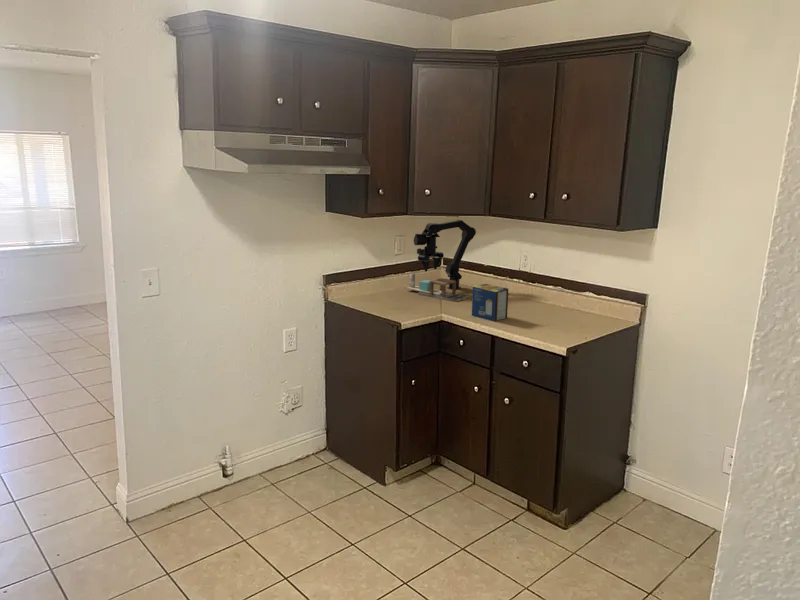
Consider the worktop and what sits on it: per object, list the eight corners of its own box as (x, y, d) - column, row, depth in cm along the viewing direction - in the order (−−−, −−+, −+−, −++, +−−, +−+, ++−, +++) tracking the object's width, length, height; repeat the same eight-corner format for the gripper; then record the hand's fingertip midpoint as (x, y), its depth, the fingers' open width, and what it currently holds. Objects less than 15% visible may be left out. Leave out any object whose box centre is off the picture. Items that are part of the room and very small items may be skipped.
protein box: (484, 312, 328) (485, 283, 325) (507, 318, 317) (509, 288, 314) (470, 315, 322) (472, 286, 318) (494, 321, 311) (495, 291, 307)
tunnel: (430, 290, 375) (430, 276, 373) (467, 297, 359) (468, 282, 356) (417, 294, 366) (418, 279, 364) (456, 301, 349) (456, 286, 347)
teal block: (425, 288, 373) (425, 279, 372) (433, 289, 369) (433, 281, 368) (419, 289, 369) (419, 281, 367) (427, 291, 365) (427, 282, 364)
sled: (414, 286, 380) (414, 272, 377) (446, 292, 365) (447, 278, 363) (406, 288, 374) (406, 274, 371) (438, 294, 359) (439, 280, 357)
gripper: (429, 241, 383) (429, 266, 387) (410, 245, 369) (410, 270, 372) (444, 243, 376) (443, 268, 380) (425, 247, 362) (425, 273, 366)
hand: (430, 270), depth 375 cm, fingers open, 9 cm apart
